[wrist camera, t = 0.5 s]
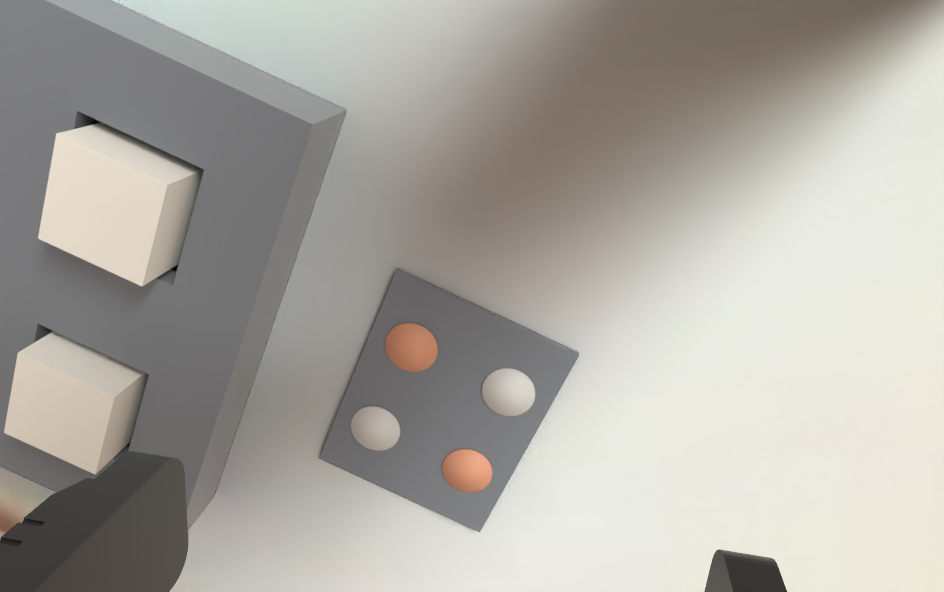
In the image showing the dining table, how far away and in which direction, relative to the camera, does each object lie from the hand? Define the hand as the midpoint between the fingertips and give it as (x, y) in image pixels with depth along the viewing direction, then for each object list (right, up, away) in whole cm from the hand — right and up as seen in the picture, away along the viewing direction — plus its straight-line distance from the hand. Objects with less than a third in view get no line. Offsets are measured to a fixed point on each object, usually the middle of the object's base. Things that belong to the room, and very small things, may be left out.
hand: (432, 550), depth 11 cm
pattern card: (-1, -1, +20) cm, 20 cm away
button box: (-17, +7, +20) cm, 27 cm away
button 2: (-15, 0, +20) cm, 25 cm away
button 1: (-12, +8, +16) cm, 21 cm away
